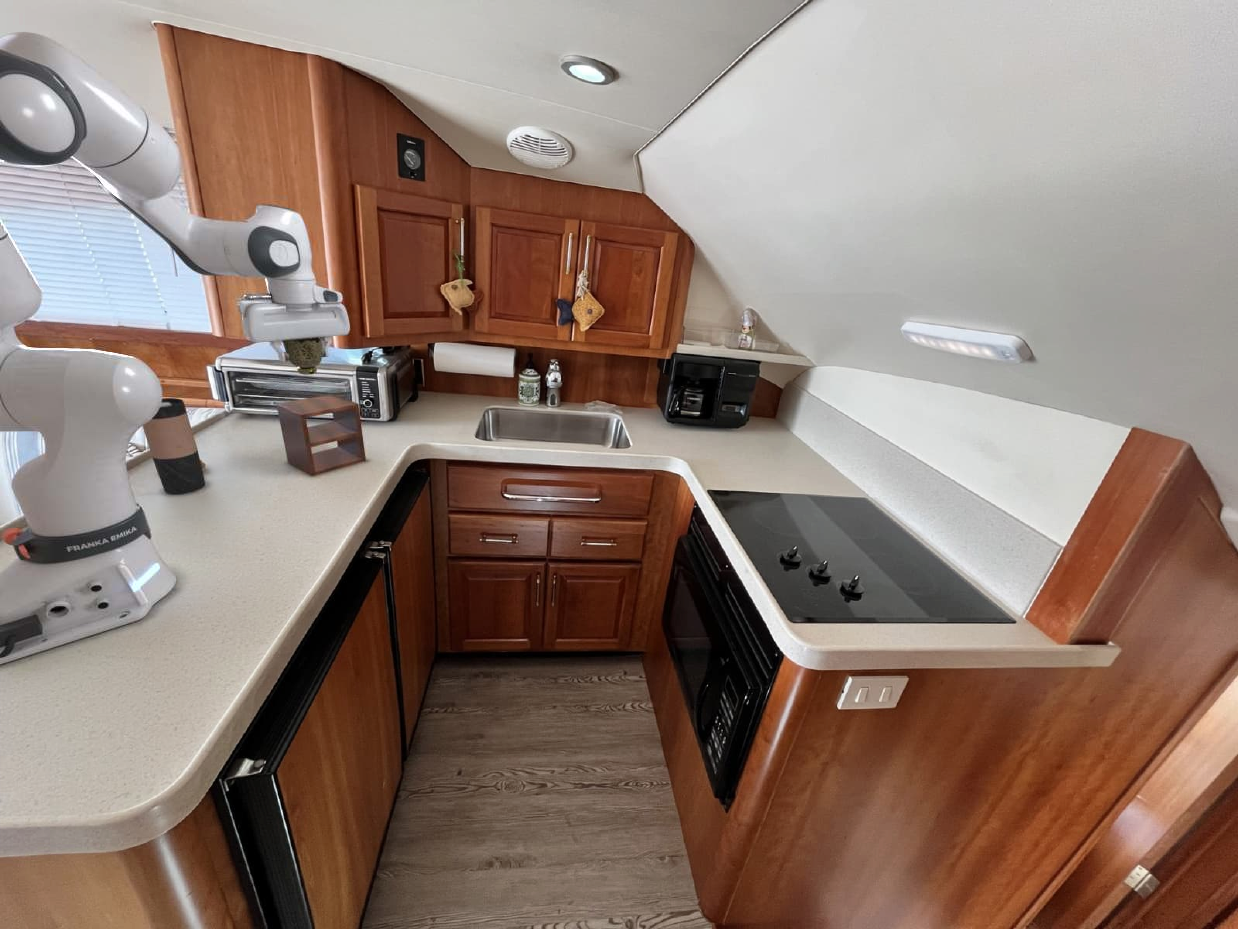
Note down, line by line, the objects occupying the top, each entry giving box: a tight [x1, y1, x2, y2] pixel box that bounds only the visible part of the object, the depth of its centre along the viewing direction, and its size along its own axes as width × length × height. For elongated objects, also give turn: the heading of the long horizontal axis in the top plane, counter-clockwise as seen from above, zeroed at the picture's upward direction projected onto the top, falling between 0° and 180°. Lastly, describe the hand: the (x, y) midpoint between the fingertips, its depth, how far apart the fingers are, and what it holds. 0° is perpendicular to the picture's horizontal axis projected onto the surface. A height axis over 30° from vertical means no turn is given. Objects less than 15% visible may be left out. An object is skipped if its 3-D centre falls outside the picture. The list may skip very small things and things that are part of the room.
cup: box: [281, 337, 323, 376], centre depth 108 cm, size 8×7×8 cm
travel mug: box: [142, 397, 206, 496], centre depth 107 cm, size 8×8×20 cm
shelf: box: [275, 394, 367, 477], centre depth 126 cm, size 14×12×16 cm
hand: (305, 358), depth 108 cm, fingers closed on cup, 6 cm apart
